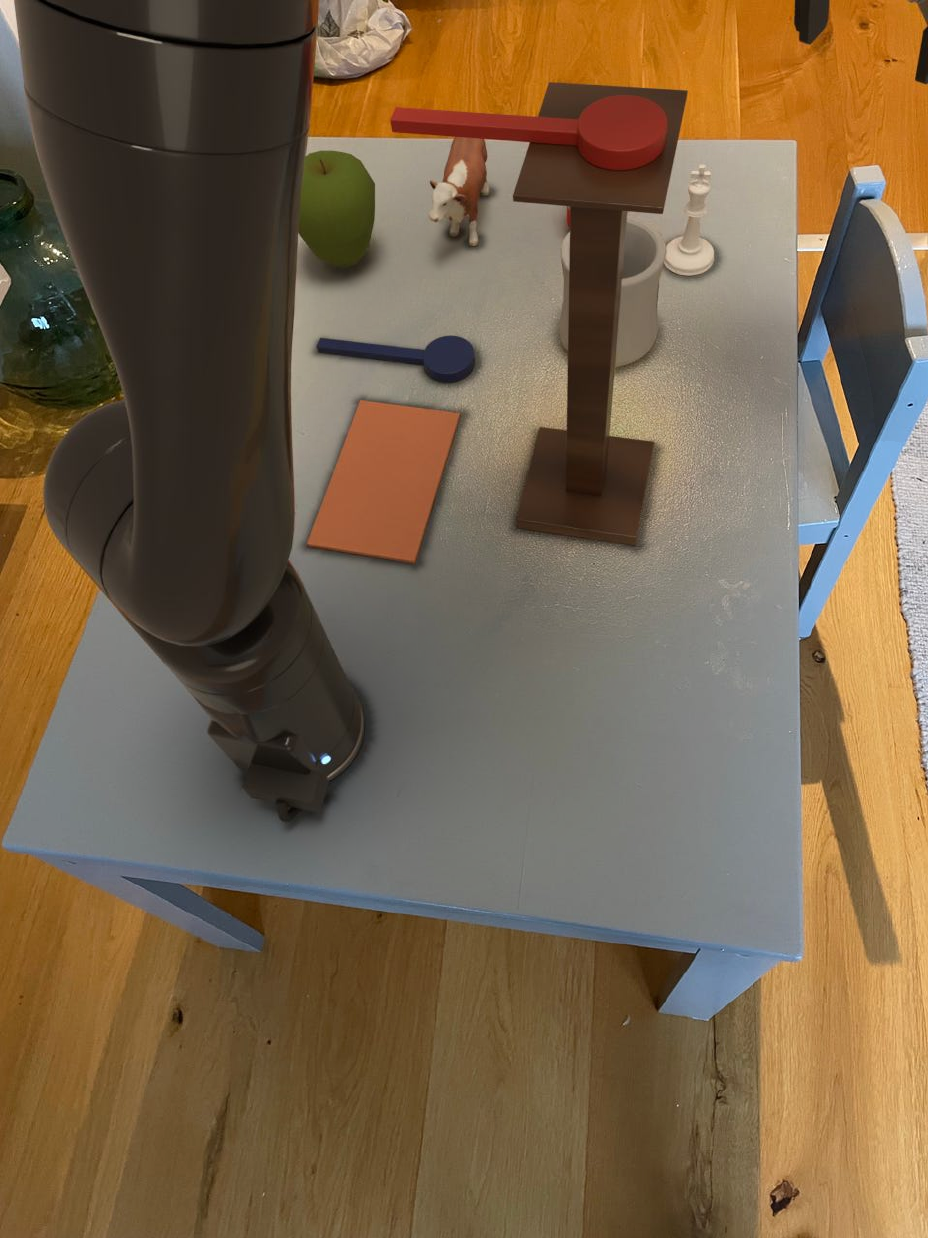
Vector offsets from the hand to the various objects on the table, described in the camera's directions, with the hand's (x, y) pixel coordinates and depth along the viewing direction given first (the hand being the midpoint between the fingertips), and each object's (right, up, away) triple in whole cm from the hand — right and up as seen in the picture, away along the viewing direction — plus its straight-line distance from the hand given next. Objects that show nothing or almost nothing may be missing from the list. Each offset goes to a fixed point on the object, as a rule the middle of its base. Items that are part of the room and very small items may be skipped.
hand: (870, 54), depth 60 cm
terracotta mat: (-33, -25, +21) cm, 46 cm away
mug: (-14, -9, +28) cm, 32 cm away
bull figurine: (-26, +4, +36) cm, 45 cm away
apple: (-39, 0, +35) cm, 52 cm away
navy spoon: (-33, -12, +28) cm, 45 cm away
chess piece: (-4, -1, +31) cm, 31 cm away
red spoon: (-23, -10, -9) cm, 26 cm away
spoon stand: (-16, -26, +19) cm, 36 cm away
